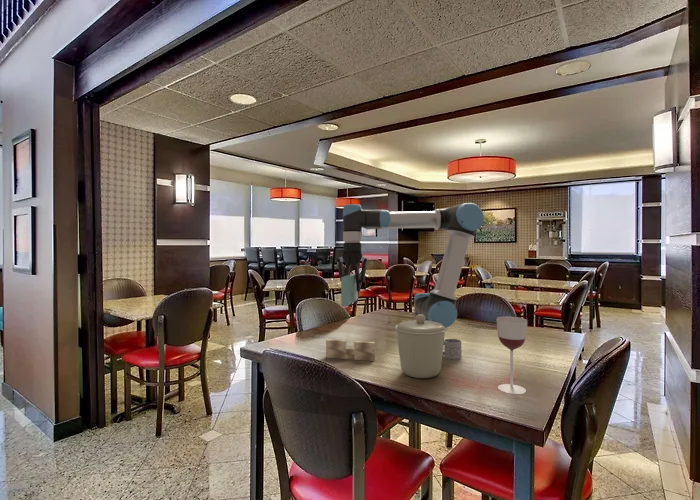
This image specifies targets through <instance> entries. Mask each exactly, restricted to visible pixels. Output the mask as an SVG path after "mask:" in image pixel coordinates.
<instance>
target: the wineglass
mask: <svg viewBox="0 0 700 500" xmlns="http://www.w3.org/2000/svg"><path fill="white" fill-rule="evenodd" d="M527 329H528V320H527V318H526V319H525V318H524V317H518V316H508V315H506V316H503V315H502V316H497V317H496V330H497V337H498V340H499V341H500V343H501V344H502V345H503V346H504V347H506V348H507V349H509V351H510V352H509V355H510V356H509V361H510V362H509V364H510V365H509V366H510V367H509V368H510V369H509V372H510V373H509V375H510V377H509V379H510V383H502V384H499V385H498V386H497V389H498V390H500V391H501V392H503V393H507V394H511V395H522V394H525V393H526V392H527V390H526V388H524V387H523V386H520V385H517V384H514V350H516V349H518V348H519V349H520V347H522V346H523V345H524V344H525V341H526V338H527V331H528V330H527Z"/></svg>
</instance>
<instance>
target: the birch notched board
mask: <svg viewBox="0 0 700 500" xmlns="http://www.w3.org/2000/svg"><path fill="white" fill-rule="evenodd" d="M347 343H348V342H347V339H335V338H326V340H325V353H326V355H325V357H326V358H331V359H343V360H344V359H345V360H357V361H358V360H359V361H366V362H367V361H370V362H375V361H376V341H365V340H354V342H353V343H354V345H353V347H347Z"/></svg>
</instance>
